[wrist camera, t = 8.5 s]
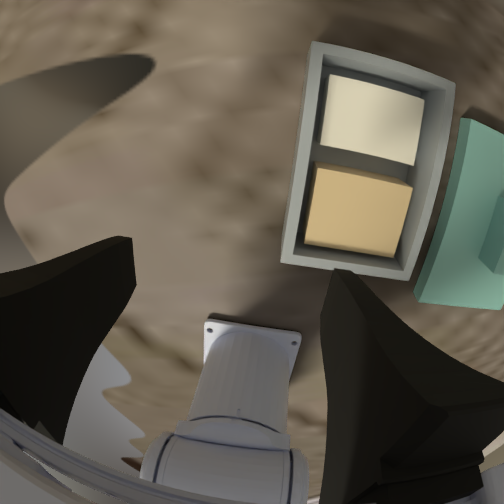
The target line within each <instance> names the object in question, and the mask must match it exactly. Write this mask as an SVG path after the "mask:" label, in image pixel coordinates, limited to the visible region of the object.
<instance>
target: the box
mask: <svg viewBox="0 0 504 504" xmlns="http://www.w3.org/2000/svg"><path fill="white" fill-rule="evenodd" d="M455 88H456V83H454V82H452V81H449V80H447V79H445V78H442V77H440V76H437V75H435V74H432V73H430V72H427V71H424V70H422V69H419V68H416V67H413V66H410V65H407V64H404V63H401V62H398V61H395V60H392V59H389V58H385V57H382V56H378V55H375V54H371V53H367V52H363V51H359V50H355V49H351V48H347V47H342V46H337V45H332V44H327V43H322V42H316V41H312V42H311V45H310V48H309V51H308V54H307V60H306V69H305V77H304V85H303V93H302V101H301V108H300V116H299V123H298V131H297V138H296V145H295V152H294V159H293V166H292V173H291V180H290V187H289V193H288V200H287V206H286V213H285V219H284V225H283V232H282V243H281V259H280V263H287V264H293V265H300V266H307V267H314V268H321V269H328V270H334V268H338V269H345V270H351V271H352V272H354V273H355V274H362V275H369V276H376V277H383V278H390V279H397V280H404V281H409V279H410V276H411V274H412V271H413V268H414V266H415V263H416V260H417V257H418V254H419V251H420V248H421V245H422V242H423V239H424V236H425V233H426V230H427V226H428V223H429V220H430V216H431V213H432V209H433V206H434V202H435V198H436V194H437V190H438V186H439V182H440V178H441V174H442V169H443V165H444V160H445V155H446V150H447V145H448V139H449V133H450V127H451V121H452V114H453V106H454V98H455Z"/></svg>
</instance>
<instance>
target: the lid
mask: <svg viewBox="0 0 504 504" xmlns="http://www.w3.org/2000/svg"><path fill="white" fill-rule="evenodd" d="M413 293H414V295H415V297H416V299H417V300H418V302H422V303H431V304H441V305H451V306H461V307H472V308H482V309H494V310H500V309H501V307H502V305H503V304H504V135H503V134H502V133H500V132H498V131H496V130H494V129H492V128H490V127H488V126H486V125H483V124H481V123H479V122H477V121H475V120H473V119H469V118H461V119H460V126H459V132H458V138H457V144H456V149H455V154H454V159H453V164H452V169H451V173H450V178H449V182H448V186H447V190H446V194H445V198H444V201H443V205H442V209H441V212H440V216H439V219H438V222H437V226H436V229H435V232H434V235H433V238H432V241H431V244H430V247H429V250H428V253H427V256H426V259H425V262H424V264H423V267H422V270H421V272H420V275H419V278H418V280H417V283H416V285H415V288H414V290H413Z"/></svg>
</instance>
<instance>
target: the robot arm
mask: <svg viewBox="0 0 504 504" xmlns="http://www.w3.org/2000/svg"><path fill="white" fill-rule="evenodd" d="M136 285H137V284H136V276H135V266H134V255H133V244H132V238H130V237H123V236H114V237H110V238H107V239H104V240H101V241H99V242H96V243H93V244H91V245H88V246H85V247H83V248H80V249H78V250H75V251H73V252H70V253H68V254H65V255H62V256H59V257H57V258H54V259H51V260H49V261H46V262H43V263H40V264H37V265H34V266H30V267H26V268H23V269H19V270H14V271H9V272H5V273H0V504H97V503H95V502H93V501H90V500H88V499H86V498H84V497H82V496H80V495H78V494H76V493H74V492H72V490H71V489H69V488H68V487H67V486H65V485H64V484H62V483H61V482H60V481H58V480H57V479H56V478H54V477H53V476H52V475H51V474H49V473H48V472H47V471H46V470H45V469H44V468H43V467H42V466H41V465H40V464H39V463H38V462H36V461H35V460H34V459H32V458H31V457H30V456H28V455H27V454H25V453H24V452H23V451H25V452H26V453H28V454H29V455H31V456H32V457H34V458H36V459H37V460H39V461H41V462H42V463H44V464H46V465H47V466H49V467H51V468H53V469H55V470H56V471H58V472H60V473H62V474H64V475H65V476H67V477H69V478H71V479H74V480H75V481H78V482H80V483H81V484H83V485H86V486H88V487H90V488H92V489H94V490H97V491H99V492H101V493H104V494H106V495H108V496H111V497H113V498H116V499H118V500H121V501H124V502H127V503H129V504H307V499H308V490H309V465H308V460H307V458H306V457H305V456H304V454H303V453H302V452H301V450H300V449H295V448H291V449H290V435H289V434H286V431H287V412H288V389H289V379H290V376H291V373H292V370H293V367H294V363H295V360H296V357H297V353H298V350H299V347H300V343H301V340H302V335H301V334H300V333H299V332H294V331H287V330H279V329H272V328H265V327H258V326H252V325H245V324H239V323H233V322H227V321H221V320H216V319H207V320H206V321H205V324H204V367H203V370H202V373H201V376H200V379H199V382H198V385H197V389H196V392H195V395H194V398H193V401H192V404H191V408H190V411H189V414H188V417H187V420H186V421H183V420H179V421H178V424H177V427H176V430H175V432H170V431H165V432H163V433H162V434H160V436H158V437H157V438H155V439H154V440H153V441H152V442H151V444H150V446H149V447H148V449H147V451H146V454H145V456H144V459H143V463H142V467H141V472H140V478H138V477H135V476H132V475H129V474H126V473H124V472H121V471H118V470H116V469H113V468H110V467H108V466H106V465H103V464H101V463H98V462H96V461H93V460H91V459H89V458H87V457H84V456H82V455H80V454H78V453H76V452H74V451H72V450H70V449H68V448H66V447H64V446H63V440H64V436H65V432H66V428H67V423H68V420H69V416H70V413H71V410H72V407H73V404H74V401H75V398H76V395H77V392H78V390H79V387H80V385H81V382H82V380H83V377H84V375H85V373H86V371H87V368H88V366H89V364H90V362H91V360H92V358H93V356H94V354H95V353H96V351H97V349H98V347H99V346H100V344H101V343H102V341H103V340H104V338H105V337H106V335H107V334H108V332H109V331H110V329H111V328H112V326H113V325H114V323H115V322H116V320H117V319H118V317H119V316H120V315H121V313H122V312H123V310H124V309H125V307H126V305H127V303H128V302H129V300H130V298H131V296H132V293H133V291H134V289H135V287H136ZM209 328H211V329H212V330H210V329H209ZM320 335H321V347H322V355H323V363H324V371H325V379H326V387H327V400H328V412H327V438H326V453H325V463H324V472H323V480H322V487H321V493H320V500H319V504H504V463H502V464H499V465H497V466H494V467H492V468H489V469H487V470H486V471H483V472H482V473H480V469H479V466H478V465H480V464H481V463H483V462H484V456H483V453H482V450H483V449H484V448H486V447H487V446H488V445H489V444H490V443H491V442H492V441H493V440H495V439H496V438H497V437H498V436H499V435H500V434H501V433H502V432H503V431H504V382H502V381H499V380H497V379H494V378H492V377H490V376H487V375H485V374H483V373H480V372H478V371H476V370H474V369H472V368H470V367H469V366H467V365H465V364H463V363H461V362H459V361H458V360H456V359H454V358H452V357H451V356H449V355H447V354H446V353H444V352H443V351H441V350H440V349H438V348H437V347H435V346H434V345H432V344H431V343H430V342H428V341H427V340H425V339H424V338H423V337H422V336H420V335H419V334H418V333H416V332H415V331H414V330H413V329H411V328H410V327H409V326H408V325H407V324H405V323H404V322H403V321H402V320H401V319H400V318H399V317H398V316H397V315H396V314H394V313H393V312H392V311H391V310H390V309H389V308H388V307H387V306H386V305H385V304H384V303H383V302H382V301H381V300H380V299H379V298H378V297H377V296H376V295H375V294H374V293H373V292H372V291H371V290H370V289H369V288H368V286H367V285H366V284H365V283H364V282H363V281H362V280H361V279H360V278H359V277H358V276H357V275H356V274H355V273H354V272H352V271H351V270H345V269H338V268H334V270H333V274H332V277H331V281H330V284H329V288H328V292H327V295H326V298H325V302H324V305H323V309H322V312H321V322H320ZM293 341H296V342H295V343H293Z"/></svg>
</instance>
